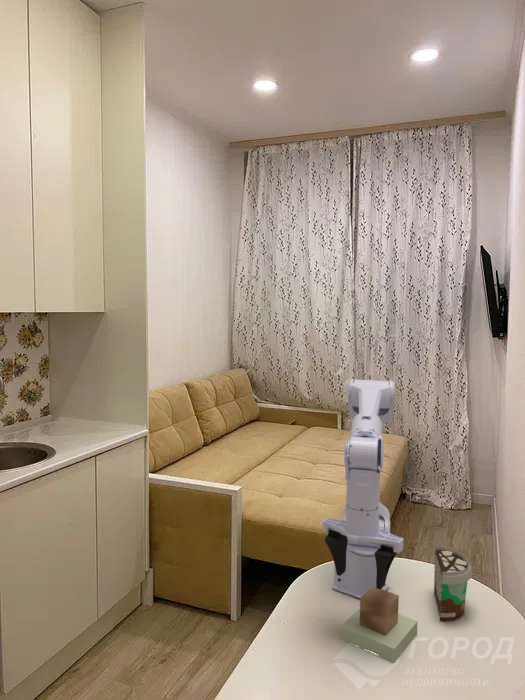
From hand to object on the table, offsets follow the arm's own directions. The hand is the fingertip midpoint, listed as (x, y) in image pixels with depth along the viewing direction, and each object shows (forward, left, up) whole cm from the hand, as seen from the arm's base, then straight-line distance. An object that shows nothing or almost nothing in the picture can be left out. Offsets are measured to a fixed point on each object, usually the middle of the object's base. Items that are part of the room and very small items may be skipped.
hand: (360, 579), depth 94 cm
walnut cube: (+3, +2, -8) cm, 9 cm away
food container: (+11, +19, -11) cm, 24 cm away
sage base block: (+3, +2, -11) cm, 12 cm away
